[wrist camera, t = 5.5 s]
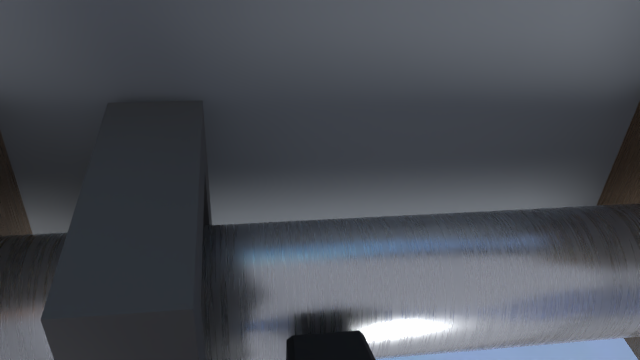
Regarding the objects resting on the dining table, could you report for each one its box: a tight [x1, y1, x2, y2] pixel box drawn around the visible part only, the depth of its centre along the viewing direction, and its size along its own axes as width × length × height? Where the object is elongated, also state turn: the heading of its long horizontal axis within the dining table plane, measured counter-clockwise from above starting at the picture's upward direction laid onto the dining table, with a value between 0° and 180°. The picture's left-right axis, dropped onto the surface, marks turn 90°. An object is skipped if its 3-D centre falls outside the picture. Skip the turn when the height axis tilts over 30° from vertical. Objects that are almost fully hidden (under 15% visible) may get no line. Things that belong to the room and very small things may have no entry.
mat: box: [0, 0, 640, 234], centre depth 16 cm, size 20×14×1 cm
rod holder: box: [0, 101, 640, 360], centre depth 13 cm, size 19×6×5 cm, turn 87°
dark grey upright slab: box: [41, 101, 212, 360], centre depth 12 cm, size 2×6×6 cm, turn 177°
